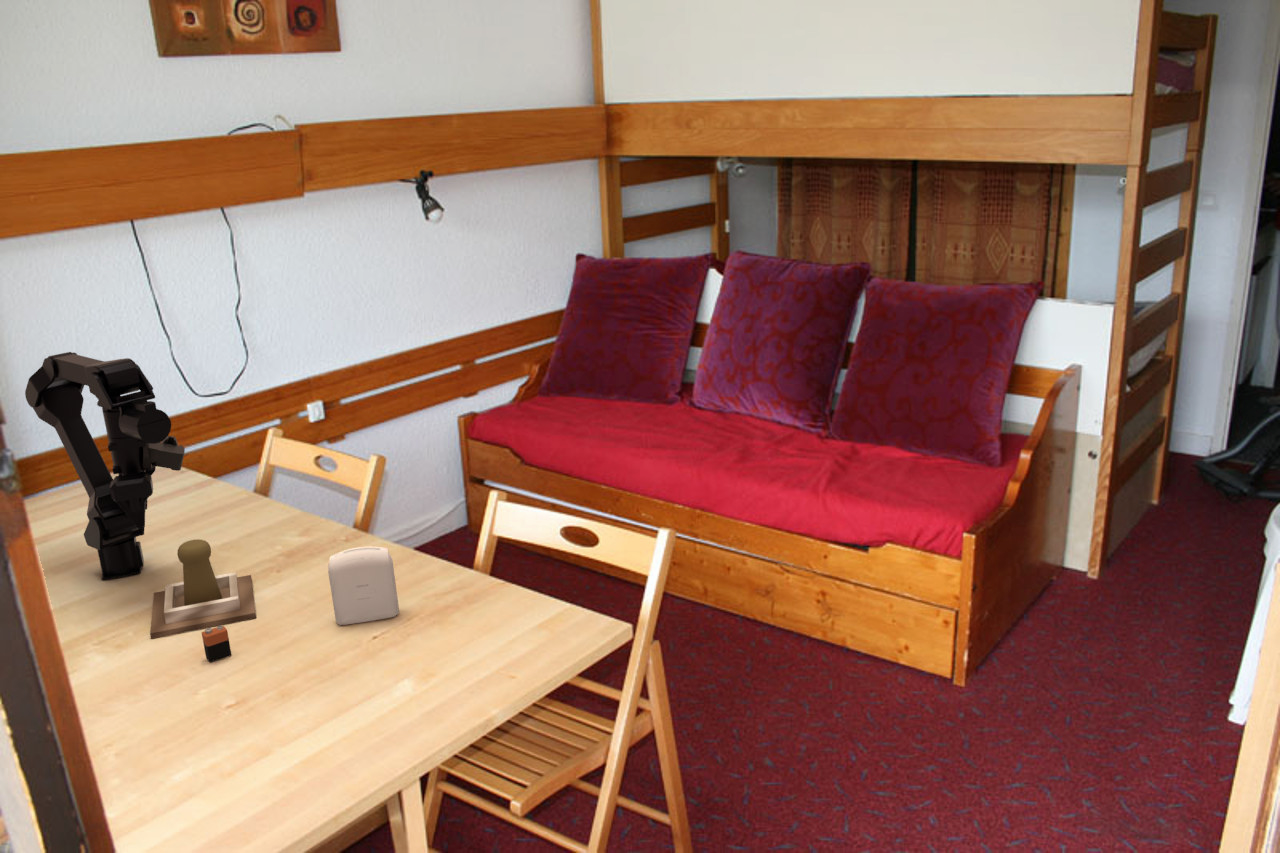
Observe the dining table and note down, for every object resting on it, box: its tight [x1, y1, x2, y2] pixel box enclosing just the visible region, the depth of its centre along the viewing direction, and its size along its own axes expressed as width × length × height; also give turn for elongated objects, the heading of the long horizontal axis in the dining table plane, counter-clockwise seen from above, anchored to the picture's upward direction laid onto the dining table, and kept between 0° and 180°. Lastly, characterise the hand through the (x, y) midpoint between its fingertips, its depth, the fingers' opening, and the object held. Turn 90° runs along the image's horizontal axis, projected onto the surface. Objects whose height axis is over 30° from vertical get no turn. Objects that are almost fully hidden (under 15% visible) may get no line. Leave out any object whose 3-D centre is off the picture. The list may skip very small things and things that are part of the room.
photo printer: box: [327, 546, 400, 626], centre depth 171 cm, size 10×4×12 cm, turn 104°
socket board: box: [149, 571, 257, 640], centre depth 178 cm, size 16×16×3 cm
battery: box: [201, 625, 232, 663], centre depth 162 cm, size 2×3×5 cm, turn 129°
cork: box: [176, 539, 222, 606], centre depth 177 cm, size 6×6×11 cm
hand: (142, 518), depth 184 cm, fingers open, 9 cm apart
